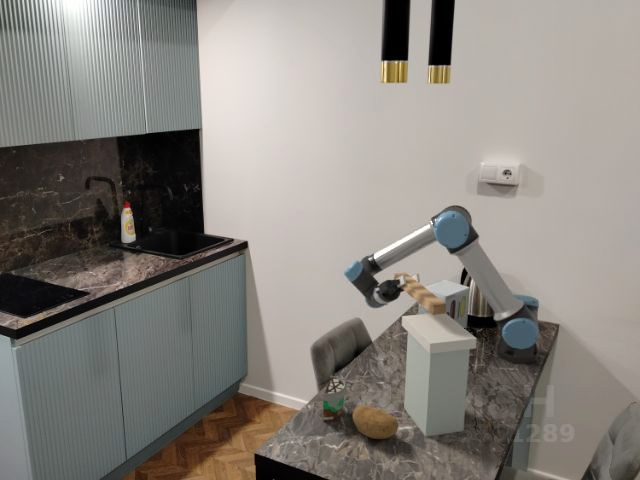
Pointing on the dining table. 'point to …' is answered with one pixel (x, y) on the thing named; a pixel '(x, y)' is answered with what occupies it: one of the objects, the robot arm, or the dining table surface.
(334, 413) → the food container
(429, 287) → the supplement box
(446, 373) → the box
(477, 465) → the dining table surface
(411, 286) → the oak slat
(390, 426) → the potato
